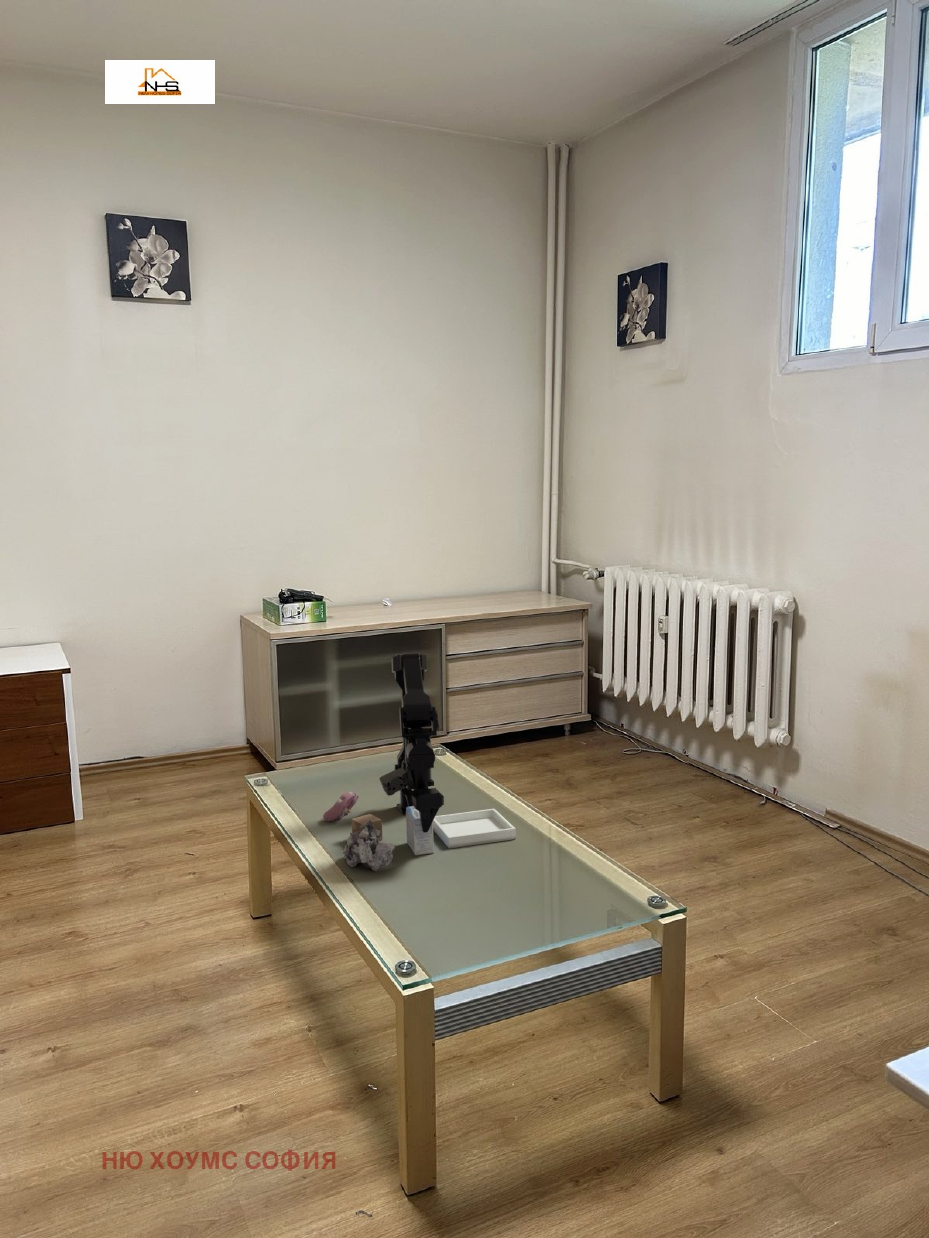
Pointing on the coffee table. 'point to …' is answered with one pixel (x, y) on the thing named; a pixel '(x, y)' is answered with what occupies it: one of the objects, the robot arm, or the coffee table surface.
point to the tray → (473, 828)
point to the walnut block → (363, 820)
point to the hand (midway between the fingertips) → (419, 824)
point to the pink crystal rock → (341, 807)
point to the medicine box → (418, 833)
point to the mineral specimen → (368, 848)
